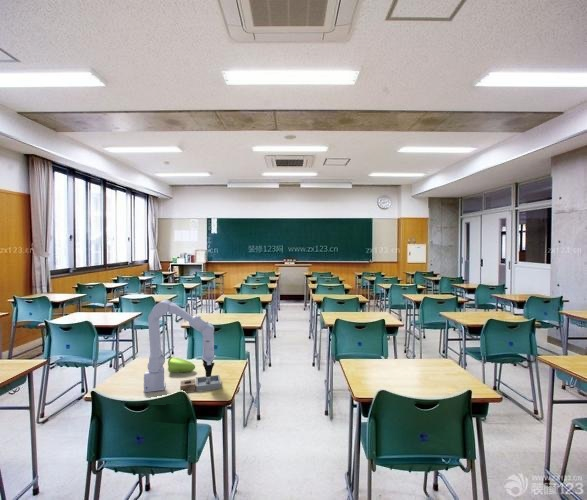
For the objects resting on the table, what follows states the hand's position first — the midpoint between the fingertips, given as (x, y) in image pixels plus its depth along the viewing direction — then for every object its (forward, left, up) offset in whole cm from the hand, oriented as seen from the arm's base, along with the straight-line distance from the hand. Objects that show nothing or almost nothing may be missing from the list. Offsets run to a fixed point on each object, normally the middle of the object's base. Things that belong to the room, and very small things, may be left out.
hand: (208, 374), depth 172 cm
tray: (0, 0, -5) cm, 5 cm away
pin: (0, 0, -5) cm, 5 cm away
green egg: (-15, +25, -6) cm, 30 cm away
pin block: (-10, -1, -5) cm, 11 cm away
